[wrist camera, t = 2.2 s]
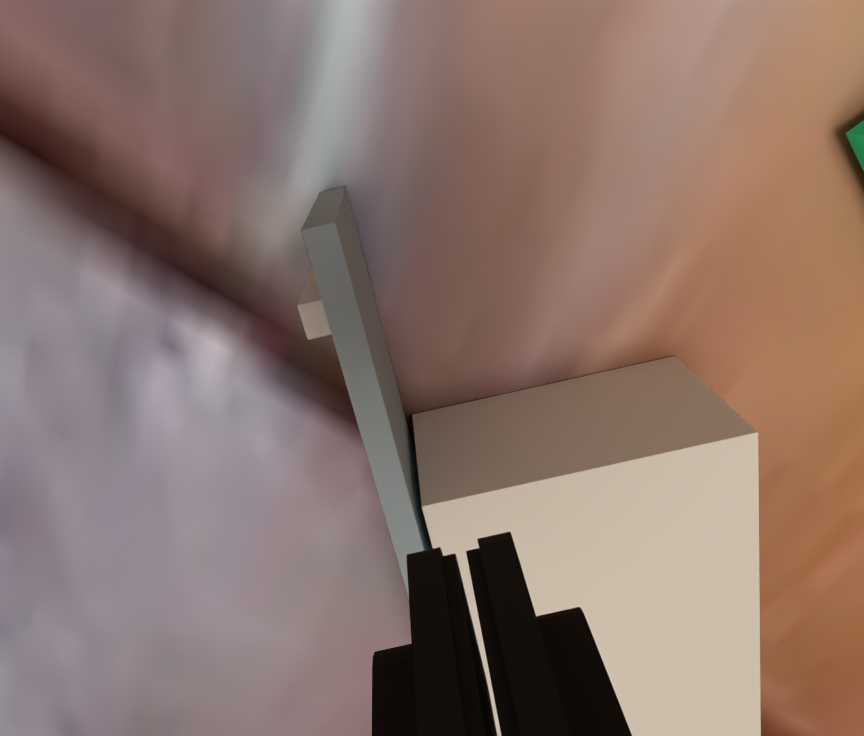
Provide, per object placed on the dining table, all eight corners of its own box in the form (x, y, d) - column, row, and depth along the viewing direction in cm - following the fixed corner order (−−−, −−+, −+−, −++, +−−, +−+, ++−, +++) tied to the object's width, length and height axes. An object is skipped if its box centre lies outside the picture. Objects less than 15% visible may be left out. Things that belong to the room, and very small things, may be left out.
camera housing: (412, 414, 30) (421, 506, 23) (675, 355, 30) (758, 432, 23) (481, 688, 37) (503, 816, 30) (693, 642, 37) (760, 761, 30)
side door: (294, 197, 25) (266, 237, 19) (348, 185, 25) (338, 221, 19) (440, 699, 36) (454, 831, 30) (477, 691, 36) (499, 821, 30)
